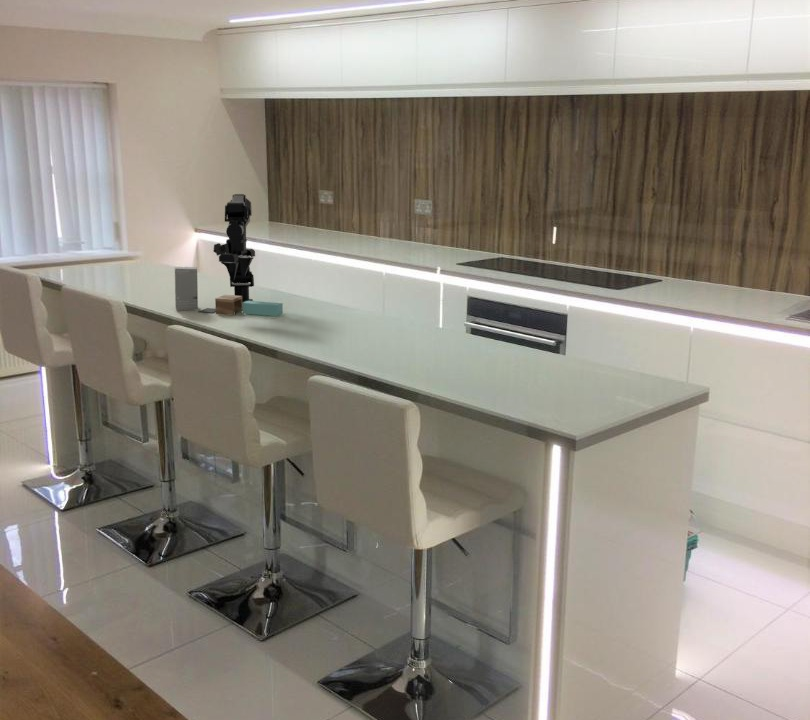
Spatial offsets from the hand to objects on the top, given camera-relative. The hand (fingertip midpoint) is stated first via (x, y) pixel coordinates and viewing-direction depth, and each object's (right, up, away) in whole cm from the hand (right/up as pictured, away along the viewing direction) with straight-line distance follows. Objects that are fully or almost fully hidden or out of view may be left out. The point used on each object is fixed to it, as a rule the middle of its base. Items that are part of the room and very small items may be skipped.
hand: (238, 278), depth 335 cm
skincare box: (-20, -11, +3) cm, 23 cm away
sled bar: (+10, -14, -6) cm, 18 cm away
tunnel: (-3, -13, -2) cm, 13 cm away
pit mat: (-10, -12, 0) cm, 16 cm away
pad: (+11, -14, -6) cm, 19 cm away
